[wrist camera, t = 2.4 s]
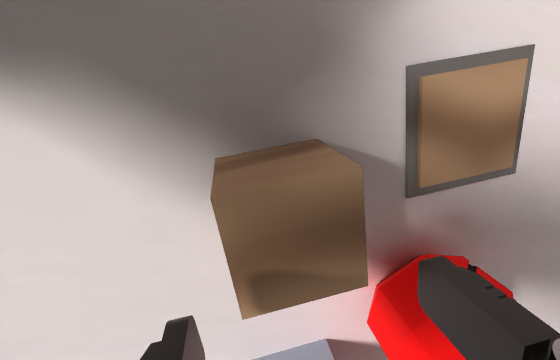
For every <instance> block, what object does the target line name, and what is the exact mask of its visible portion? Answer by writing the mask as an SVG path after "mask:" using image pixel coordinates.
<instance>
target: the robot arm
mask: <svg viewBox="0 0 560 360" xmlns="http://www.w3.org/2000/svg"><path fill="white" fill-rule="evenodd" d="M417 295H418V300H419V303H420V305H421V307H422V309H423V311H424V312H425V313H426V314H427V316H428V317H429V318H430V319H431V320H432V321H433V322H434V324H435V325H436V326H437V327H438V328H439V329H440V330H441V332H442V333H443V334H444V335H445V336H446V337H447V338H448V340H449V341H450V342H451V343H452V344H453V345H454V346H455V347H456V349H457V350H458V351H459V352H460V353H461V354H462V355H463V357H464V358H465V359H466V360H560V334H559V333H558V332H557V331H555V330H554V329H553V328H551V327H550V326H549V325H547V324H546V323H545V322H543V321H542V320H540V319H539V318H538V317H536V316H535V315H534V314H532V313H531V312H530V311H528V310H527V309H526V308H524V307H523V306H522V305H520V304H519V303H517V302H516V301H515V300H513V299H512V298H511V297H507V294H505V293H504V292H503V291H501V290H500V289H499V288H495V287H494V285H493V284H492V283H490V282H489V281H488V280H486V279H485V278H484V277H482V276H481V275H480V274H477V273H475V272H473V271H471V270H468V269H466V268H464V267H458V266H456V265H455V264H454V263H452V262H451V261H450V260H449V259H447V258H446V257H444V256H437V257H432V258H428V259H424V260H421V261H420V262H419V265H418V290H417ZM140 360H205V353H204V349H203V345H202V342H201V339H200V336H199V333H198V330H197V326H196V323H195V320H194V318H193V316H192V315H191V316H187V317H182V318H178V319H174V320H170V321H168V322H167V323H166V326H165V330H164V334H163V337H162V341H159V342H155V343H151V344H150V346H149V347H148V349H147V350H146V352H145V353H144V354H143V356H142V357H141V359H140Z"/></svg>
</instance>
